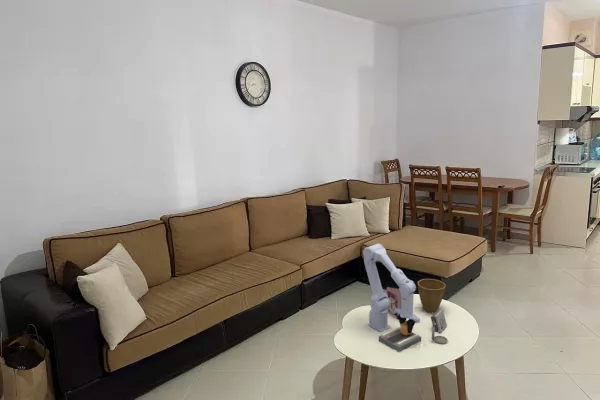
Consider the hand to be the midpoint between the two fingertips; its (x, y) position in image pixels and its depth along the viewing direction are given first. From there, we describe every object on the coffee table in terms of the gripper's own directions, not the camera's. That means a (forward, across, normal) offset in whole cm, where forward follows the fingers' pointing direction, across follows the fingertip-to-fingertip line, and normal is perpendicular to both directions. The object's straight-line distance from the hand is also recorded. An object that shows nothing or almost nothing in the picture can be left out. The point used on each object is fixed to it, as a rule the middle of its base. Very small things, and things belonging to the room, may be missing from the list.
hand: (406, 330), depth 214 cm
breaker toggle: (+1, 0, 0) cm, 1 cm away
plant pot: (+4, -12, +34) cm, 37 cm away
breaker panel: (+4, 0, -5) cm, 6 cm away
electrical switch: (+4, +4, +20) cm, 21 cm away
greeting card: (+4, -20, +15) cm, 26 cm away
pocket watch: (+4, +11, +10) cm, 16 cm away
